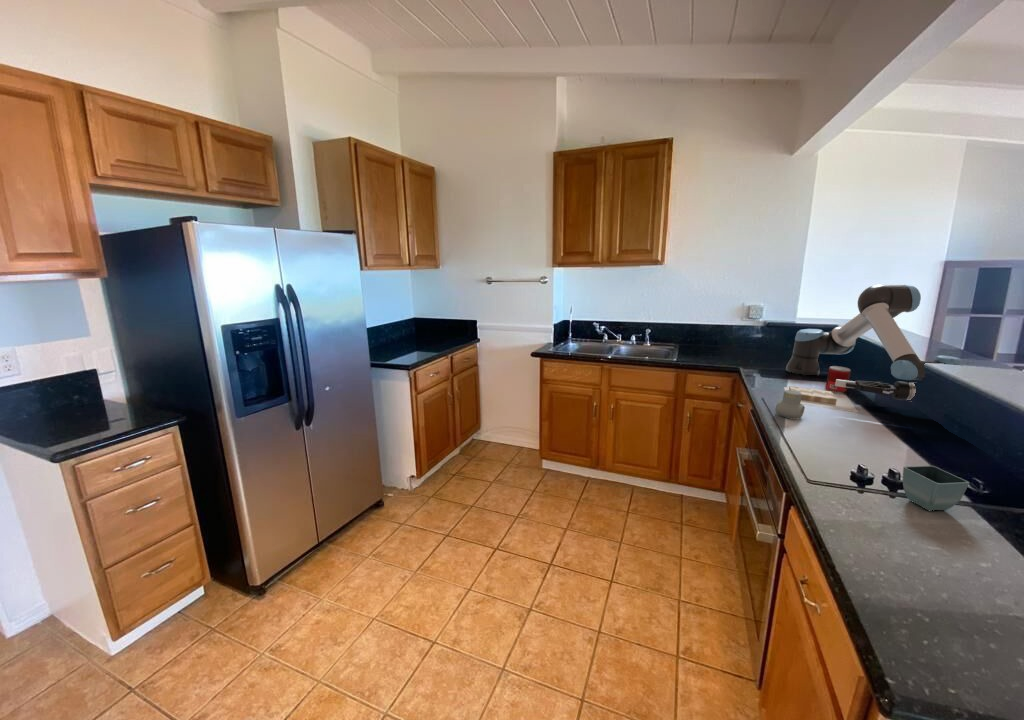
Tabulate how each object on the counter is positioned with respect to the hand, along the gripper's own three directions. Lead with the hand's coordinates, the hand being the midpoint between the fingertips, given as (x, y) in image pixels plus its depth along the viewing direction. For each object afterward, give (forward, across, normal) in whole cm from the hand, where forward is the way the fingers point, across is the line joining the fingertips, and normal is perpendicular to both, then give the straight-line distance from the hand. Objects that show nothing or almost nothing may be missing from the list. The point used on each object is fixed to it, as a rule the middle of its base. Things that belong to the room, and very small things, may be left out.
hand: (835, 382), depth 183 cm
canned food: (-5, +21, -9) cm, 23 cm away
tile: (0, 0, -7) cm, 7 cm away
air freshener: (+19, -29, -9) cm, 36 cm away
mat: (+5, 0, -9) cm, 10 cm away
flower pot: (-7, -85, -9) cm, 86 cm away
